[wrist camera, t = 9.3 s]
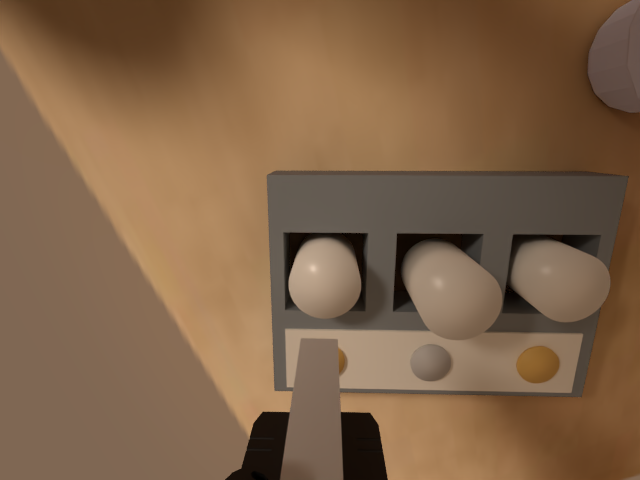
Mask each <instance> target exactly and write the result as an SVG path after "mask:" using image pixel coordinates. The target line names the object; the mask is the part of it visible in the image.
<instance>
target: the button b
mask: <svg viewBox="0 0 640 480" xmlns="http://www.w3.org/2000/svg"><path fill="white" fill-rule="evenodd" d="M401 278H402V281H403V283H404V285H405V287H406V289H407V291H408V293H409V295H410V297H411V299H412V301H413V303H414V305H415V307H416V309H417V311H418V312H419V314H420V316H421V318H422V320H423V322H424V324H425V325H426V326H427V328H428V329H429V330H430V331H432V332H433V333H434V334H436V335H437V336H440V337H442V338H445V339H449V340H466V339H470V338H473V337H476V336H478V335H480V334H482V333H483V332H485V331H486V330H487V329H488V328H490V327H491V326H492V324H493V323H494V322H495V320H496V319H497V317H498V315H499V313H500V310H501V307H502V292H501V289H500V286H499V284H498V282H497V281H496V279H495V278H494V277H493V276H492V275H491V274H490V273H489V272H487V271H486V270H485V269H484V268H483V267H481V266H480V265H479V264H478V263H476V262H475V261H474V260H473V259H472V258H470V257H469V256H468V255H467V254H465V253H464V252H463V251H462V250H461V249H459V248H458V247H457V246H456V245H454V244H453V243H451V242H449V241H447V240H444V239H437V238H433V239H427V240H423V241H421V242H419V243H417V244H415V245H414V246H413V247H411V248H410V249H409V250H408V252H407V253H406V255H405V256H404V258H403V260H402V264H401Z"/></svg>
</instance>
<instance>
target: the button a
mask: <svg viewBox="0 0 640 480" xmlns="http://www.w3.org/2000/svg"><path fill="white" fill-rule="evenodd" d="M289 292H290V295H291V298H292V300H293V302H294V303H295V304H296V306H297V307H298V308H299V309H300V310H301V311H303V312H304V313H306V314H308V315H310V316H312V317H315V318H321V319H330V318H335V317H338V316H341V315H343V314H344V313H346V312H348V311H349V310H350V309H351V308H352V307H353V306H354V305H355V303H356V302H357V300H358V298H359V295H360V292H361V278H360V274H359V269H358V264H357V260H356V255H355V251H354V248H353V246H352V244H351V242H350V241H349V240H348V239H347V238H346V237H345V236H344V235H342V234H341V233H311V234H309V235H308V236H307V237H306V238H305V239H304V240H303V241H302V242H301V244H300V246H299V248H298V251H297V254H296V257H295V261H294V264H293V267H292V270H291V273H290V277H289Z"/></svg>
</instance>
